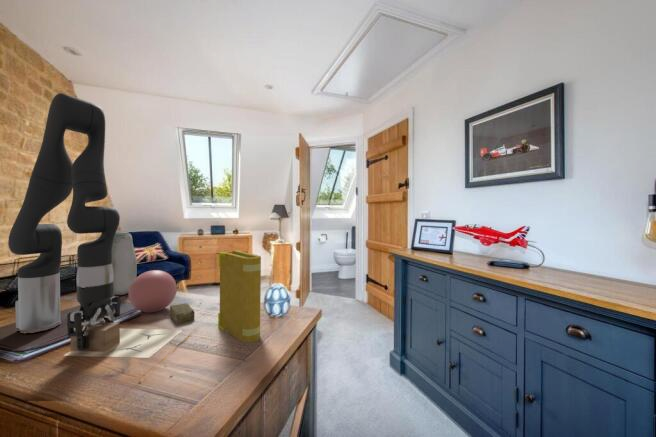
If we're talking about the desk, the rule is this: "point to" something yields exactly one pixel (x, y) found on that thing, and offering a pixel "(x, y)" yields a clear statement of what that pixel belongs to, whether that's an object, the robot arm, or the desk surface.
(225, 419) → the desk surface
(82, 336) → the robot arm
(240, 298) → the book
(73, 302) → the desk surface
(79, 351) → the block
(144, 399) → the desk surface
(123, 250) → the grey vase
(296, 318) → the desk surface
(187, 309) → the stone block
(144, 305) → the pink egg
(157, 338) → the birch board
